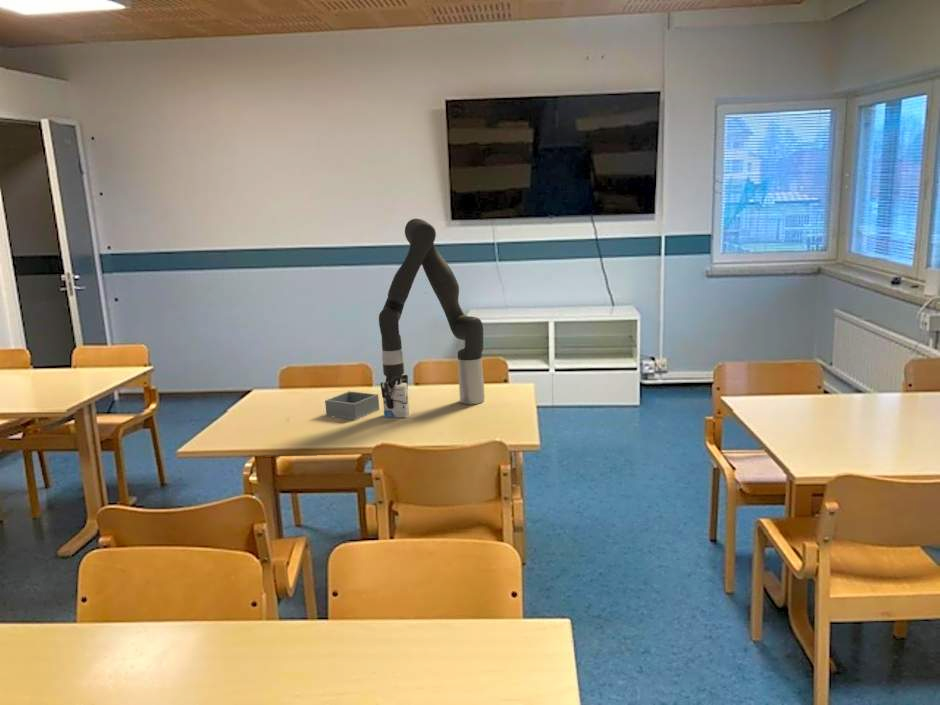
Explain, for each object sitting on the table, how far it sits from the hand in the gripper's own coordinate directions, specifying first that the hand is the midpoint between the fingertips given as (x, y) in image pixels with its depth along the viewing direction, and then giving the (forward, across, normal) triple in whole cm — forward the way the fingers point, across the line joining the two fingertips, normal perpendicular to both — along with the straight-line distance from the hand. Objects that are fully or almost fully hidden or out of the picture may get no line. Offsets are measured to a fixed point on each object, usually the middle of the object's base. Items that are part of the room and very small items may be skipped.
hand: (396, 405), depth 268 cm
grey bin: (+4, -3, +18) cm, 19 cm away
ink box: (+4, 0, 0) cm, 4 cm away
